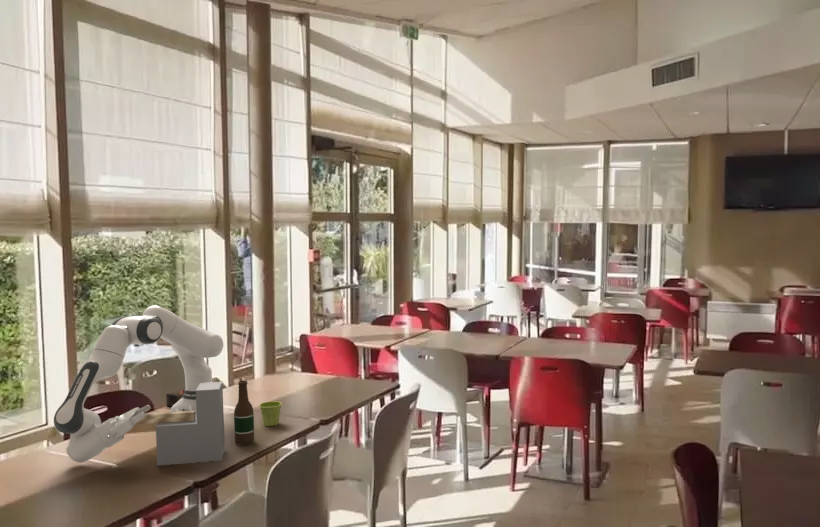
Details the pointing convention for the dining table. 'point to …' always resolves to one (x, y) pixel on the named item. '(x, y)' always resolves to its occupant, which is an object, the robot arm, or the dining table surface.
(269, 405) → the plant pot
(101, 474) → the dining table surface
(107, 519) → the dining table surface
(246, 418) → the beer bottle
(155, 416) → the stick
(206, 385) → the stand
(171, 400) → the beverage carton
